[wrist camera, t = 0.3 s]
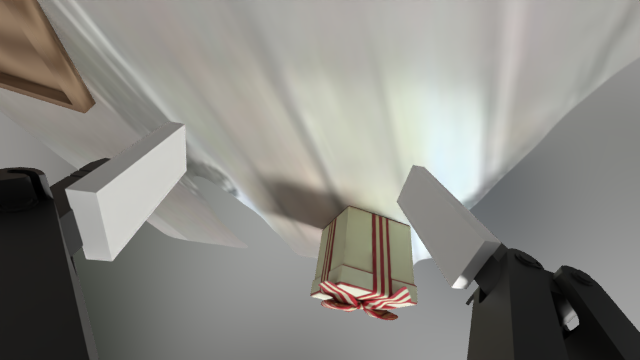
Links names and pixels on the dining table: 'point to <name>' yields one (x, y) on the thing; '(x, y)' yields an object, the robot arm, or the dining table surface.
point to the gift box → (365, 265)
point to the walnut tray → (37, 58)
